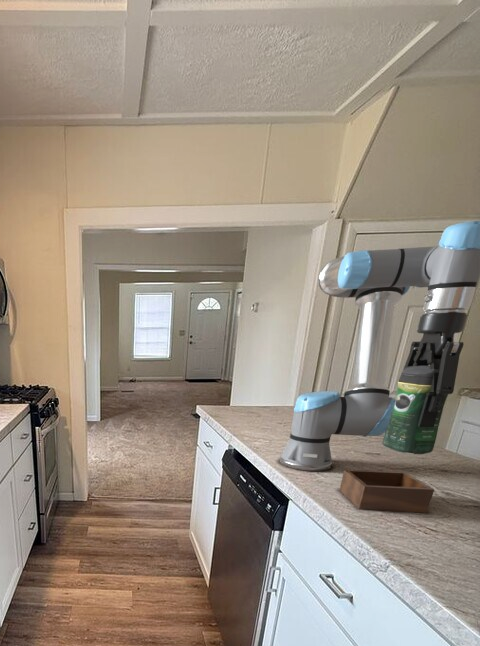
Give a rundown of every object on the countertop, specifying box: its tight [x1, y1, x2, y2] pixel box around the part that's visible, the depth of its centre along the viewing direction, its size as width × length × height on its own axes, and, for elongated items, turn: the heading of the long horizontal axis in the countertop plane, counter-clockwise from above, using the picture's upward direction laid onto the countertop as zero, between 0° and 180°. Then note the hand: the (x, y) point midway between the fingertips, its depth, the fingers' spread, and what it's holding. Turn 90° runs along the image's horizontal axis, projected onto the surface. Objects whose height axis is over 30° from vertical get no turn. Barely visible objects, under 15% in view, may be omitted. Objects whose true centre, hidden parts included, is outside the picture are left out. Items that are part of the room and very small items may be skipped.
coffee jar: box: [381, 365, 449, 456], centre depth 89 cm, size 10×8×19 cm
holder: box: [339, 469, 435, 514], centre depth 103 cm, size 13×15×6 cm
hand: (413, 422), depth 90 cm, fingers closed on coffee jar, 9 cm apart
